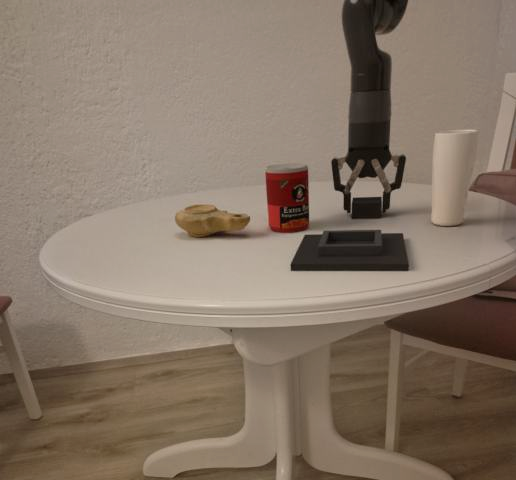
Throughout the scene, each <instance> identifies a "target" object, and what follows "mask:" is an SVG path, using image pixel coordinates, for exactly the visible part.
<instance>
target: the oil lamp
mask: <svg viewBox="0 0 516 480" xmlns="http://www.w3.org/2000/svg"><path fill="white" fill-rule="evenodd" d="M174 221H175V224H176V225H177V226H178V227H179V228H180V229H182V230H183V231H186V232H187V234H188V235H189V236H190V237H193V238H204V237H205V238H206V237H209V236H212V235H214V234H215V233H219V232H237V231H242V230H244V229H245V228H246V227H247V226H248V225H249V223H250V221H251V216H250V215H248V214H247V213H232V212H229V211H227V210H220V209H218V208H217V206H216V205H214V204H193V205H189V206H186V207H184V208H183V209H182V210H179V211H177V212H176V213H175V215H174Z"/></svg>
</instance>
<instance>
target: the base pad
mask: <svg viewBox="0 0 516 480" xmlns="http://www.w3.org/2000/svg"><path fill="white" fill-rule="evenodd" d="M409 266H410V262H409V258H408V252H407V247H406V242H405V237H404V233H403V232H387V233H386V232H382V229H345V230H344V229H343V230H342V229H340V230H339V229H337V230H333V229H332V230H323V231H322V233H319V234H316V233H315V234H304V235H303V237H302V240H301V242H300V244H299V246H298V248H297V250H296V252H295V254H294V255H293V258H292V260H291V262H290V271H304V272H305V271H307V272H308V271H319V272H320V271H321V272H322V271H325V272H326V271H328V272H329V271H330V272H331V271H334V272H335V271H337V272H338V271H341V272H342V271H343V272H345V271H349V272H350V271H351V272H352V271H353V272H355V271H359V272H360V271H361V272H363V271H368V272H369V271H371V272H372V271H373V272H374V271H375V272H376V271H378V272H381V271H383V272H384V271H386V272H387V271H388V272H389V271H393V272H395V271H396V272H397V271H399V272H400V271H401V272H403V271H404V272H405V271H406V272H407V271H408V272H409V268H410V267H409Z"/></svg>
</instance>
